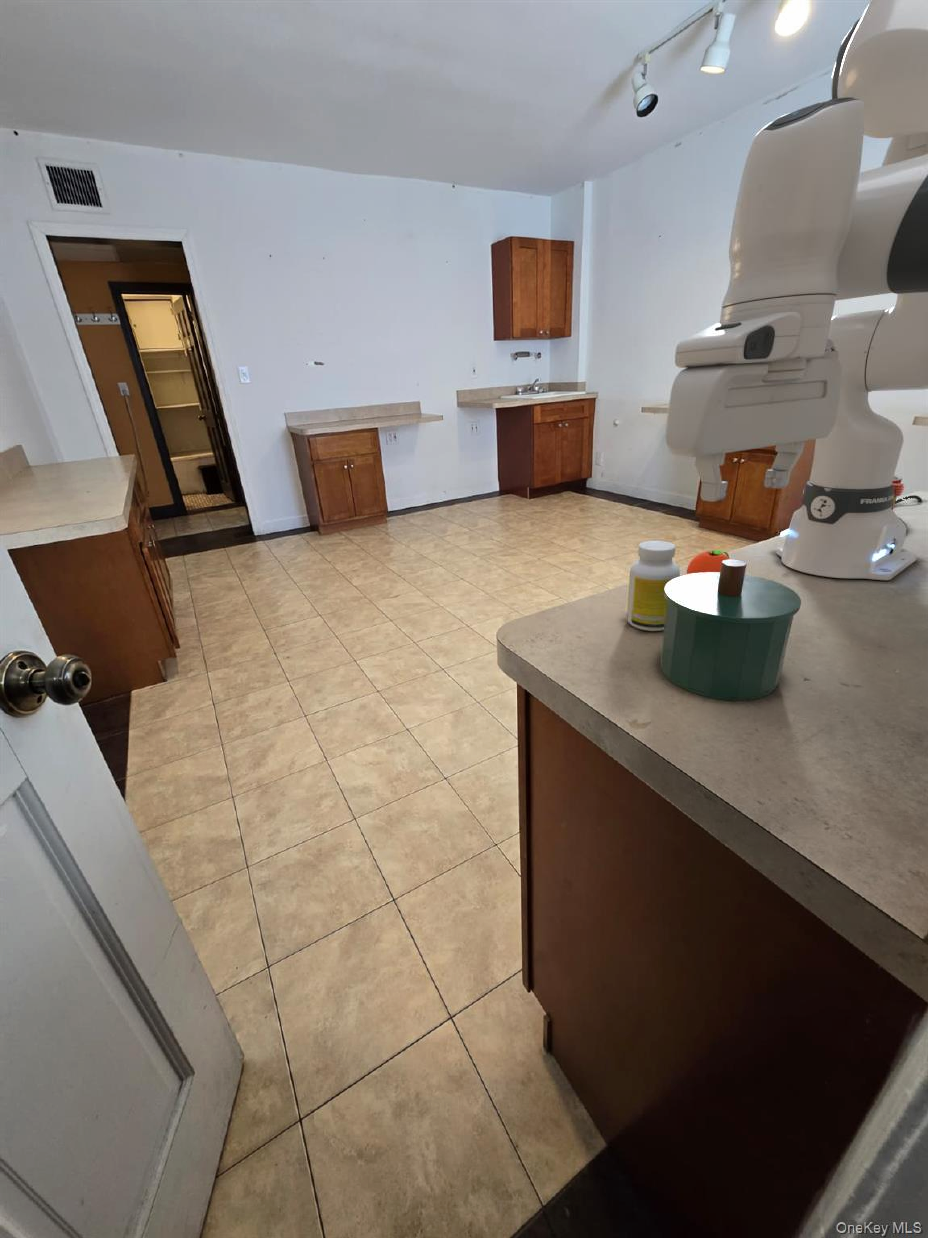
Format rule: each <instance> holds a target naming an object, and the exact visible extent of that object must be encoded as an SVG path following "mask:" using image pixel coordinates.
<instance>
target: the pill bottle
mask: <svg viewBox="0 0 928 1238" xmlns="http://www.w3.org/2000/svg"><path fill="white" fill-rule="evenodd" d="M675 554H676V545H675V544H674V543H672V542H669V541H665V540H647V541H646V540H645V541H642V542H640V543H639V544H638V549H637V555H638V557H639V559H638V560H636V561H634V562H633V563H632V565H631V566H630V569H629V582H628V583H629V584H628V600H627V613H626V619H627V622H628V623H629V624H630V625H631V626H632V627H634V628H636V629H639V630H642V631H648V632H659V631H664V622H665V612H666V603H667V600H666V598H665V597H664V587H665V585H666V584H667V583H668V582H669V581H670V580H672V579H674V578H676V577H679V576H681V569H680V566H679V565H678V563H676V562H675V561H674V560H673V558H674V557H675Z"/></svg>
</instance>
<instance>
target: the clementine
mask: <svg viewBox="0 0 928 1238" xmlns="http://www.w3.org/2000/svg"><path fill="white" fill-rule="evenodd" d="M729 559H730V556H729V553H728V552H727V551H723V550H717V549H716V550H710V551H709V550H708V551H707V550H706V551H703V552H701V553H699V554H697V555H696V556H694V558H692V559H691V560H690V562H689V564H688V565H687V568H686V575H687V574H693V573H704V572H720V571H721V564H722V561H724V560H729Z"/></svg>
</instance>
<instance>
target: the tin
mask: <svg viewBox="0 0 928 1238" xmlns="http://www.w3.org/2000/svg"><path fill="white" fill-rule="evenodd" d="M794 616H795V615H793V616H791V617H789V618H787V619H784V620H780V621H775V622H768V623H732V622H723V621H717V620H711V619H707V618H703V617H699V616H695V615H692V614H689V613H687V612H684V611H682V610H680V609H678V608H676V607H674V606H673V605H671V604H670V603H669V602H668V601H667V603H666V612H665V622H664V630H662V632H663V633H662V641H661V651H660V663H659V664H660V670H661V672H662V674H663V675H664V676H665V678H666V679H667V680H668V681H670V682H671V683H672V684H674V685H676V686H677V687H679V688H681V689H683V690H685V691H687V692H689V693H693V694H695V695H698V696H702V697H706V698H709V699H714V700H721V701H737V702H739V701H750V700H756V699H760V698H763V697H765V696H768V695H769V694H771V693H772V692H773V691H774V690H775V689H776V688H777V686H778V682H779V681H780V678H781V674H782V670H783V665H784V661H785V656H786V652H787V648H788V642H789V638H790V634H791V629H792V625H793V620H794Z"/></svg>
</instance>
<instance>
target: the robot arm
mask: <svg viewBox="0 0 928 1238" xmlns="http://www.w3.org/2000/svg"><path fill="white" fill-rule="evenodd" d="M830 83H831V84H830V94H831V98H830V99H829V100H826V101H822V102H817V103H814V104H811V105H808V106H804V107H802V108H800V109H797V110H794V111H791V112H789V113H786V114H784V115H781V116H779V117H777V118H776V119H774V120H772V121H770V122H769V123H767V124H766V125H764V127H762V129H760V130H759V131H758V132H757V133H756V134H755V136H754V137H753V139H752V142H751V144H750V147H749V150H748V153H747V157H746V160H745V163H744V167H743V171H742V174H741V179H740V184H739V188H738V193H737V198H736V201H735V202H736V203H735V208H734V214H733V220H732V226H731V231H730V239H729V247H728V248H729V249H728V259H729V264H730V265H729V266H730V276H729V283H728V287H727V290H726V293H725V294H724V297H723V299H722V303H721V310H720V317H719V322H716V323H714V324H712V325H710V326H709V327H707V328H705V329H702V330H701V331H698V332H697V333H696V334H693V335H690V336H689V337H686V338H685V339H683V340H681V341H679V343H678V344H676V347H675V352H674V353H675V354H674V363H675V366H676V367H677V368H681V369H682V370H680V371H679V372H678V373H677V375H676V376H675V378H674V380H673V383H672V386H671V389H670V395H669V402H668V409H667V416H666V417H667V418H666V430H665V443H666V446H667V448H668V450H669V452H670V453H671V455H674V456H680V457H688V458H689V457H690V458H695V463H694V467H695V468H696V472H697V474H698V476H699V480H700V482H701V488H700V499H701V500H702V501H705V502H711V503H712V502H718V501H722V500H725V498H726V497H727V492H726V491H727V489H728V485H729V483H728V481H725V480H724V481H723V479H722V474H721V469H720V466H724V464H725V459H726V454H728V453H735V452H742V451H747V450H755V449H761V448H768V447H773V446H775V450H774V451H775V452H777V454H776V456H775V459H774V461H773V463H772V465H771V468H770V469H766V470H765V473H764V480H763V486H764V487H765V488H767V489H773V490H777V489H783V488H786V487H788V485H789V484H790V483H789V482H790V479H791V474H792V471H793V470H794V468H795V466H796V464H797V463H798V461H799V459H800V458H801V456H802V454H803V453H804V449H805V444H806V442H807V441H813V440H815V442H814V443H815V445H814V452H813V458H812V459H813V460H812V465H811V470H810V475H809V480H807V481H806V483H805V486H804V488H803V490H802V497H801V504H802V506H800V508H799V509H798V508H797V510H795V511H794V512H793V514H792V517H791V520H790V523H789V527H788V528H787V529H785V530H783V531H781V532H780V534H779V537H782V538H783V537H784V536H785V539H784V543H783V546H779V547H777V548H776V552H775V553H776V554H777V555H778V556H779V557H781V563H782V564H783V565H784V566H786V567H788V568H789V569H792V570H794V571H798V572H801V573H805V574H809V575H814V576H819V577H825V578H835V579H865V580H866V579H867V580H876V581H891V580H892V579H893V578H895V577H896V576H897V575H899V574H900V573H901V572H903V571H904V570H906V569H907V568H908V567H909V566H910V565H912V564H913V563H915V562H916V561H917V558H918V554H917V553H915V552H913V551H910V550H907V549H904V548H903V546H904V543H905V539H906V535H907V530H908V526H907V524H906V523H905V521H904V520H903V519H902V518H901V517H900V516H898V515H897V514H896V513H895V511H894V509H893V510H892V509H891V507H892V506H893V498H894V496H897V497H900V496H901V495H902V494H903V493H904V490H905V484H904V483H901V484H894V483H892V481H893V477H894V475H895V473H896V470H897V466H898V462H899V460H900V456H901V452H902V448H903V444H904V433H903V431H902V429H901V428H900V426H898V425H897V423H895V422H893V421H892V420H890V419H888V418H887V417H884V416H883V415H881V414H878V413H876V412H874V411H873V410H872V408H871V405H870V403H869V393H871V392H887V391H888V392H889V391H919V390H923V391H924V390H928V0H869V2H868V4H867V6H866V8H865V9H864V12H863V14H862V16H860V18H858V19H857V20H856V21H855V22H854V24H853V25H852V26H851V28H850V29H849V30H848V32H847V33H846V35H845V37H844V38H843V40H842V41H841V43H840V46H839V48H838V51H837V56H836V60H835V63H834V66H833V70H832V75H831V82H830ZM864 136H865V137H868V138H871V139H872V138H873V139H889V143H888V146H887V149H886V151H885V154H884V157H883V159H882V162H881V166H879V167H875V168H873V169H869V170H868V169H867V170H865V171H861V166H862V156H863V144H864ZM887 294H888V295H889V294H896V295H897V296H896V302H895V305H894V306H892V307H889V308H884V309H883V308H882V309H875V310H867V311H860V312H859V311H858V312H852V313H851V312H850V313H843V314H836V315H834V310H835V305H836V301H842V300H849V299H850V300H851V299H857V298H858V299H859V298H865V297H873V296H880V295H887ZM907 496H908V497H907ZM907 496H904V497H905V498H904V497H902V498H903V499H906V500H902V499H901V498H898V499H896V500H897V501H895V505H897V504H899V503H901V502H904V501H907V500H911V498H912V499H915V500H917V502H918V503H923V499H922V497H920V496H919V495H914V494H913V495H907ZM908 498H910V499H908Z"/></svg>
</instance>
